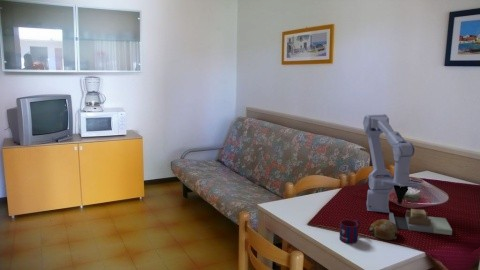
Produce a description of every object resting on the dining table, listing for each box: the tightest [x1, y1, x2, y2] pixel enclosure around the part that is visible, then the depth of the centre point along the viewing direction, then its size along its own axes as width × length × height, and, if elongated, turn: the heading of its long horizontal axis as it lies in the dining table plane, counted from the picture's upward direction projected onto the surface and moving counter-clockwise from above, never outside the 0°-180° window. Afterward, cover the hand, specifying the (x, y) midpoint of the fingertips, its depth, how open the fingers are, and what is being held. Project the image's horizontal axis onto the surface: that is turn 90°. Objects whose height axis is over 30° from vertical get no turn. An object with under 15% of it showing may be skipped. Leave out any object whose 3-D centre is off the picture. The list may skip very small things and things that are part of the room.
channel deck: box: [388, 209, 453, 236], centre depth 154 cm, size 22×12×4 cm, turn 73°
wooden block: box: [410, 208, 426, 219], centre depth 153 cm, size 5×5×4 cm
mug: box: [339, 219, 360, 245], centre depth 142 cm, size 7×10×7 cm
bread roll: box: [368, 218, 399, 241], centre depth 145 cm, size 10×10×8 cm
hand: (399, 203), depth 155 cm, fingers closed
